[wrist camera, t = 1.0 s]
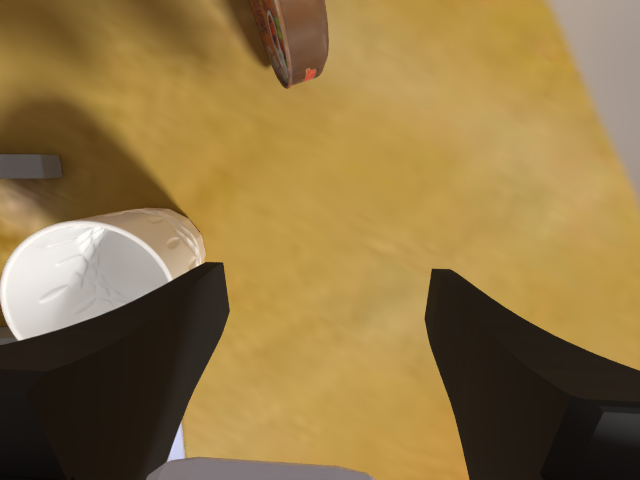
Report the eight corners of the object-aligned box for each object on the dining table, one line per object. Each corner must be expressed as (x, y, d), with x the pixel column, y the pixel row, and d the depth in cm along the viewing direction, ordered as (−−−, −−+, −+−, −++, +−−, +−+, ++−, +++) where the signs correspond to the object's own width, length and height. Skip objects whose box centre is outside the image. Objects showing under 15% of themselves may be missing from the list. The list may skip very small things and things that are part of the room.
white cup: (86, 272, 26) (-28, 337, 16) (131, 178, 25) (37, 189, 15) (186, 316, 28) (135, 399, 18) (231, 230, 27) (205, 269, 17)
